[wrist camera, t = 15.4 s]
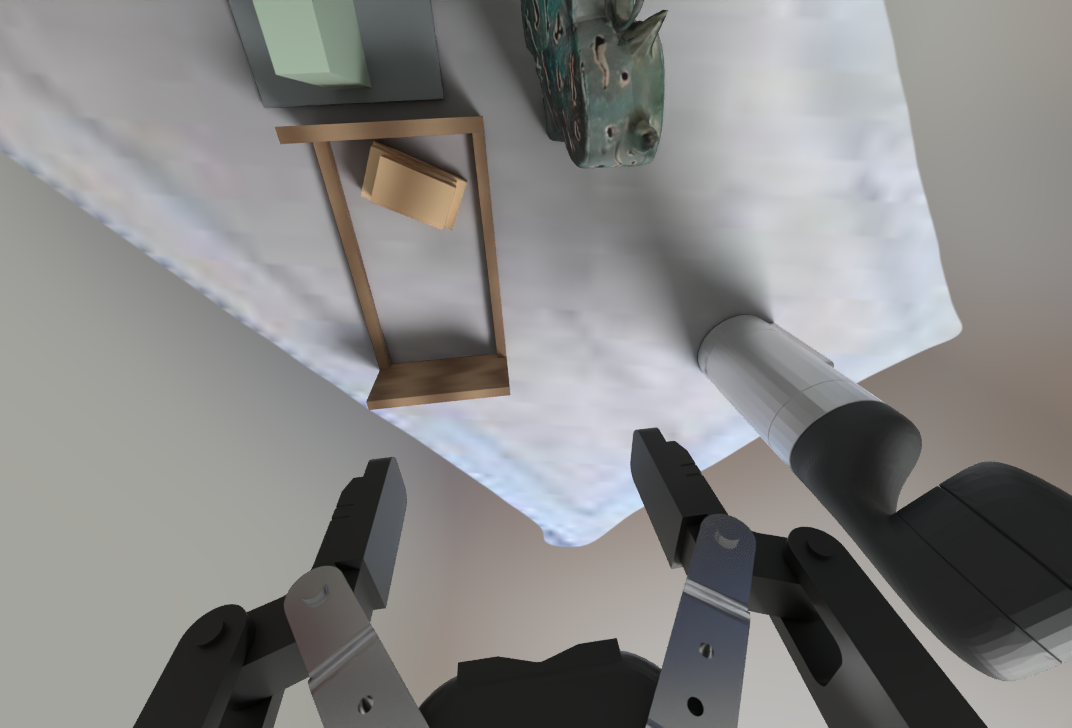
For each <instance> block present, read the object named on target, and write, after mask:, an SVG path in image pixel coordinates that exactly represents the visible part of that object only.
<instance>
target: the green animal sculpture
mask: <svg viewBox="0 0 1072 728" xmlns="http://www.w3.org/2000/svg"><path fill="white" fill-rule="evenodd" d="M643 2H644V0H636V2H635V5H634V0H521V11H522V20H523V28H524V35H525V41H526V46H527V48H528V50H529V51H530V52H531V53H532V55H533V56H534V59H535V63H536V71H537V74H538V77H539V79H540V84H541V88H542V92H543V104H544V109H545V115H546V127H547V134H548V136H549V138H550V139H551V140H553V141H560V142H565V144H566V148H567V150H568V153H569V156H570V158H571V160H572V161H573V162H574V163H575V164H576V165H577V166H578V167H580V168H603V167H630V166H639V165H643V164H647V163H650V162H651V161H652V160H653V158H654V156H655V153H656V150H657V147H658V144H659V140H660V136H661V130H662V122H663V107H664V58H663V51H662V44H661V41H660V37H659V34H658V32H659V30H660V28H661V25H662V23H663V21H664V19H665V17H666V14H667V12H668V10H662V11H660V12H658V13H656V14H654V15H653V16H651V17H649V18H647V19H646V20H645V21H636V20H635V18H636V17H637V15H638V13H639V12H640V10H641V8H642V5H643Z"/></svg>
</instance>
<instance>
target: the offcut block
mask: <svg viewBox="0 0 1072 728" xmlns="http://www.w3.org/2000/svg"><path fill="white" fill-rule="evenodd" d="M466 183H467V181H466V180H464V179H462V178H460V177H457V176H455V175H453V174H450V173H448V172H446V171H444V170H441V169H439V168H437V167H434V166H432V165H430V164H428V163H425V162H423V161H421V160H418V159H416V158H414V157H412V156H409V155H407V154H405V153H402V152H400V151H398V150H396V149H393V148H391V147H389V146H386V145H384V144H382V143H380V142H377V141H375V142H373V146H371V148H370V153H369V158H368V163H367V168H366V173H365V178H364V183H363V187H362V192H361V196H362V197H364V198H367V199H370V200H371V201H370V202H372V203H375V204H377V205H380V206H382V207H385V208H387V209H390V210H393V211H395V212H398V213H400V214H403V215H405V216H408V217H410V218H413V219H415V220H418V221H421V222H423V223H426V224H428V225H431V226H433V227H436V228H438V229H441V230H443V228H444V227H445V228H448V229H450V230H452V228H453V225H454V222H455V218H456V215H457V212H458V209H459V206H460V202H461V199H462V196H463V193H464V190H465V187H466Z"/></svg>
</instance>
